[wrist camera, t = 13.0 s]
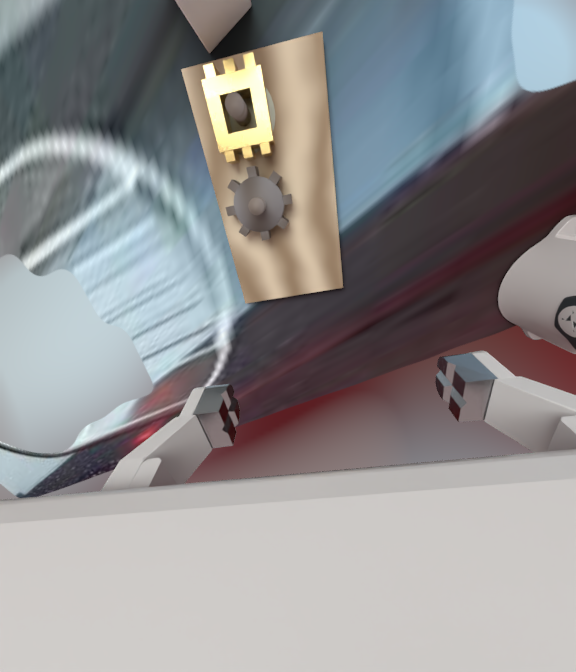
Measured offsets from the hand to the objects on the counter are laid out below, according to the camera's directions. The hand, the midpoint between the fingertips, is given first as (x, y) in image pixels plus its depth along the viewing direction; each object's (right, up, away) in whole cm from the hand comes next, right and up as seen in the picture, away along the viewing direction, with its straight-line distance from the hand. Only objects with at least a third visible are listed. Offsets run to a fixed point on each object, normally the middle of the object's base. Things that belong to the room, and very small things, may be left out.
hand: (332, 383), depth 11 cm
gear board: (-3, +20, +24) cm, 32 cm away
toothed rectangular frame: (-7, +26, +19) cm, 33 cm away
